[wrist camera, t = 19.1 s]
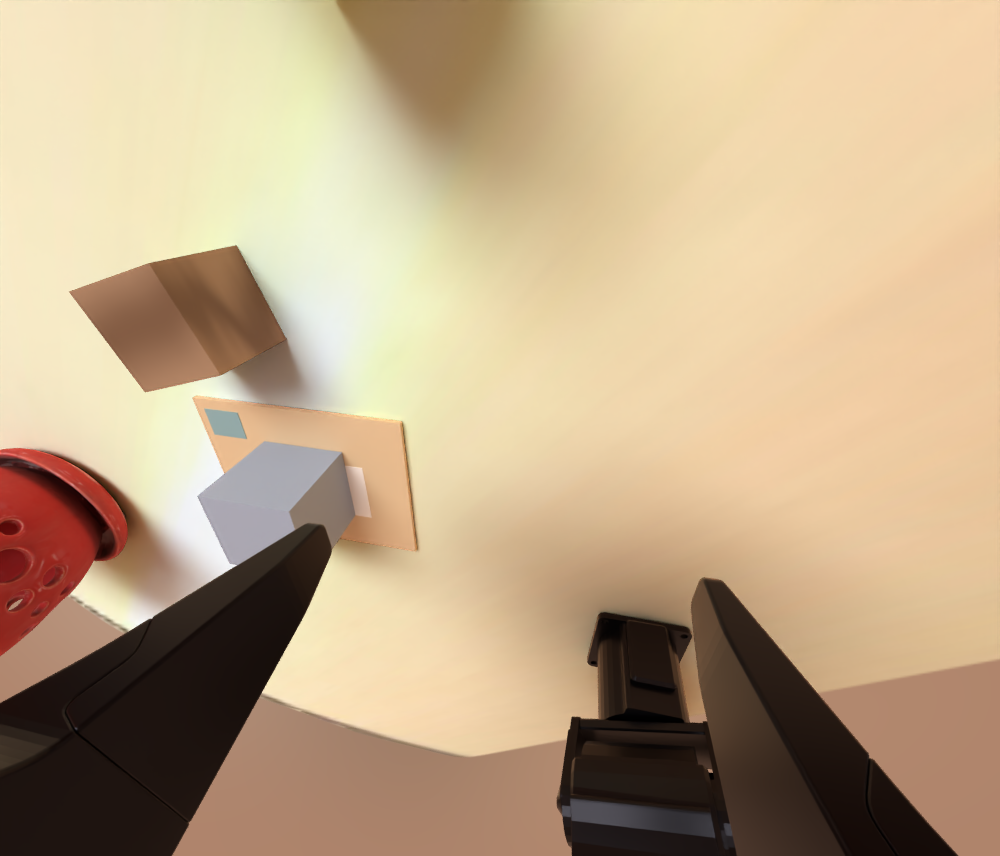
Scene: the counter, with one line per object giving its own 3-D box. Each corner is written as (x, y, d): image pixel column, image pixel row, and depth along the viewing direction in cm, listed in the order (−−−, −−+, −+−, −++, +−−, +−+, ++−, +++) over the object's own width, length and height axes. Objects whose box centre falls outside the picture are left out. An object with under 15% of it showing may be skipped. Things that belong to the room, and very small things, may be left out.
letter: (416, 548, 30) (415, 551, 30) (247, 519, 32) (244, 522, 32) (401, 421, 24) (399, 424, 24) (196, 395, 26) (191, 398, 26)
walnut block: (287, 338, 23) (220, 375, 19) (220, 354, 24) (145, 392, 20) (237, 245, 21) (148, 263, 16) (167, 269, 22) (69, 291, 18)
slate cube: (355, 515, 29) (311, 579, 24) (285, 503, 30) (229, 563, 25) (341, 452, 26) (289, 511, 22) (264, 441, 27) (197, 496, 22)
